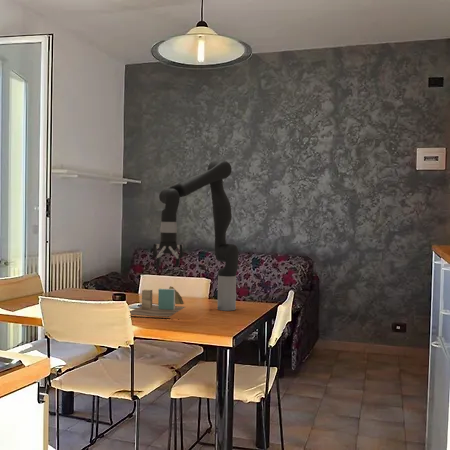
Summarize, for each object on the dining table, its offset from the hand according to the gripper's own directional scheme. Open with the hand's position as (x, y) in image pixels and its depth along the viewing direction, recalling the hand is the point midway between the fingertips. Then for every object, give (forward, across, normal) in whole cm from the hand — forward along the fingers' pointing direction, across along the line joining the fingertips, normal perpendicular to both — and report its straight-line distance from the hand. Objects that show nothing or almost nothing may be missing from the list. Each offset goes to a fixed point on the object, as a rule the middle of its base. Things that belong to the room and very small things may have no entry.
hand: (168, 266), depth 248 cm
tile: (+22, +4, -12) cm, 25 cm away
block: (+22, +14, -12) cm, 29 cm away
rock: (+24, +5, -30) cm, 38 cm away
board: (+24, +8, -8) cm, 26 cm away
